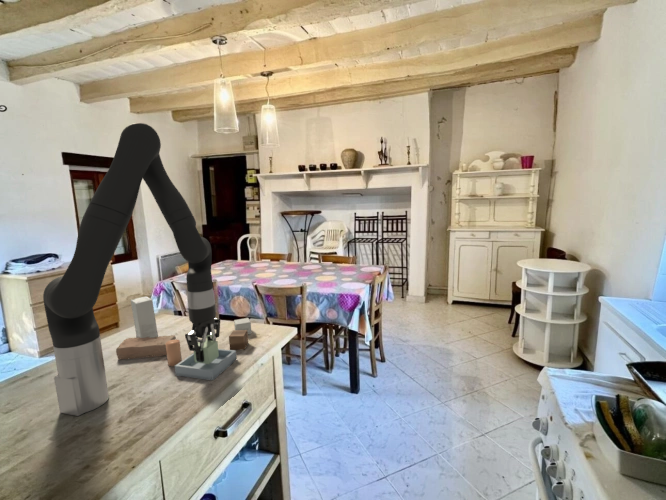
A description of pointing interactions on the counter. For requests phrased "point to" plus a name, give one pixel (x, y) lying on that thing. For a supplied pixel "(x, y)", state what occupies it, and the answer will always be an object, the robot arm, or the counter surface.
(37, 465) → the counter surface
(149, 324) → the skincare box
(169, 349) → the peach capsule
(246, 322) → the small box
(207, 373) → the tray
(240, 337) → the walnut cube
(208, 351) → the green block
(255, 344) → the counter surface
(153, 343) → the brick
